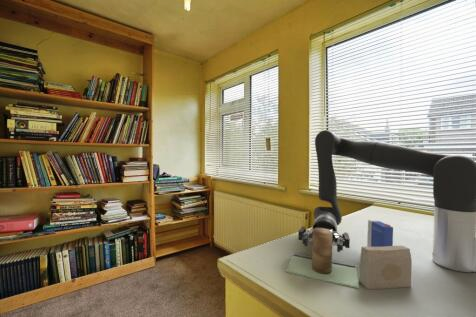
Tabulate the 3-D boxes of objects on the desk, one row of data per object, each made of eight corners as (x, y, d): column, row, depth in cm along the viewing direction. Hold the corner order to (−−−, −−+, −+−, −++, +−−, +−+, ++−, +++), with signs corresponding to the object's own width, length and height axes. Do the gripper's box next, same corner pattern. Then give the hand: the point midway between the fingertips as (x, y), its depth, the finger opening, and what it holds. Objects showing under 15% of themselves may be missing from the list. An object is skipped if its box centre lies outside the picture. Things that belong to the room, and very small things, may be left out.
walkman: (392, 265, 67) (393, 226, 67) (383, 266, 67) (384, 226, 67) (374, 253, 75) (375, 218, 75) (366, 254, 75) (367, 218, 74)
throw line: (355, 265, 67) (355, 264, 67) (355, 267, 66) (355, 266, 66) (294, 253, 74) (294, 252, 74) (293, 255, 73) (293, 254, 73)
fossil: (399, 279, 60) (400, 244, 60) (411, 287, 56) (412, 249, 56) (358, 282, 58) (359, 245, 58) (367, 290, 55) (368, 251, 55)
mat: (356, 269, 64) (356, 268, 64) (358, 288, 55) (358, 287, 55) (292, 257, 72) (292, 255, 72) (286, 272, 63) (286, 270, 63)
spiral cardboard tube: (331, 267, 65) (332, 229, 65) (331, 276, 60) (332, 235, 60) (313, 263, 67) (313, 227, 67) (311, 271, 62) (311, 232, 62)
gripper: (303, 214, 79) (295, 228, 64) (348, 219, 73) (350, 236, 59) (303, 235, 79) (295, 253, 65) (347, 242, 74) (350, 264, 59)
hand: (321, 245), depth 62 cm, fingers open, 8 cm apart
